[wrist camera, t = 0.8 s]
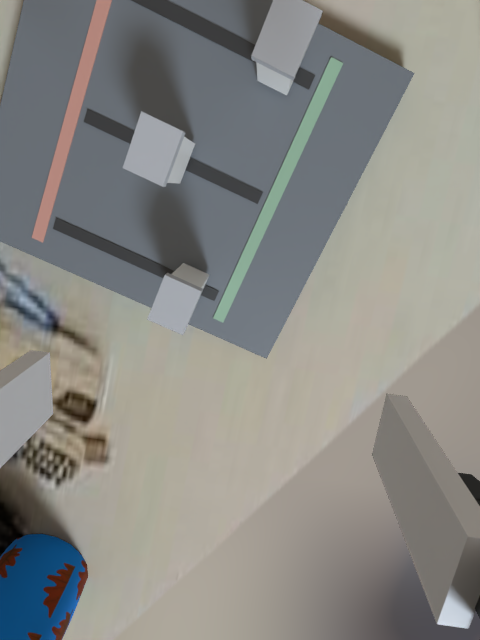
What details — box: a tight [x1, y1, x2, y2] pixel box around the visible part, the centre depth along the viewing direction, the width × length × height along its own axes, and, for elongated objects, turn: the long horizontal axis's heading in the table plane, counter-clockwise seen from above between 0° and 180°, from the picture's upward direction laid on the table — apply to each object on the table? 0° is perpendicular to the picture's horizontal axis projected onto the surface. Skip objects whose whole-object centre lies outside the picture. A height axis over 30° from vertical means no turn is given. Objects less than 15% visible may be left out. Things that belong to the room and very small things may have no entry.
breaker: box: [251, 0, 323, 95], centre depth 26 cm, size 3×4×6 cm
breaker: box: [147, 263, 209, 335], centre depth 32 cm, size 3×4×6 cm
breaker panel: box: [0, 0, 414, 359], centre depth 33 cm, size 28×25×2 cm
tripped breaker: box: [123, 111, 195, 187], centre depth 29 cm, size 3×4×6 cm
